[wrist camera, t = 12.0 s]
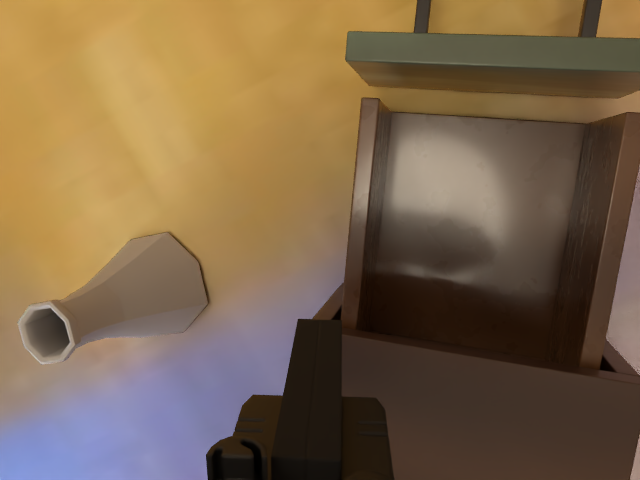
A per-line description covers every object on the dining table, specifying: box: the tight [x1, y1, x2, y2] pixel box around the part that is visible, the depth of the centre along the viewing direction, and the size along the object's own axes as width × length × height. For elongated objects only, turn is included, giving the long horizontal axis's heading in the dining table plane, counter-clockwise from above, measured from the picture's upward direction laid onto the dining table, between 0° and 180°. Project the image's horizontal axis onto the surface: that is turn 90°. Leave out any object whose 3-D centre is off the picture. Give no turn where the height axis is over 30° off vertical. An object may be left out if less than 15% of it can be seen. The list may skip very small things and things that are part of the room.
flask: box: [17, 232, 208, 365], centre depth 29 cm, size 7×7×10 cm
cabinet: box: [313, 283, 640, 480], centre depth 26 cm, size 17×14×9 cm
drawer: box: [341, 0, 640, 370], centre depth 23 cm, size 22×13×7 cm, turn 175°
